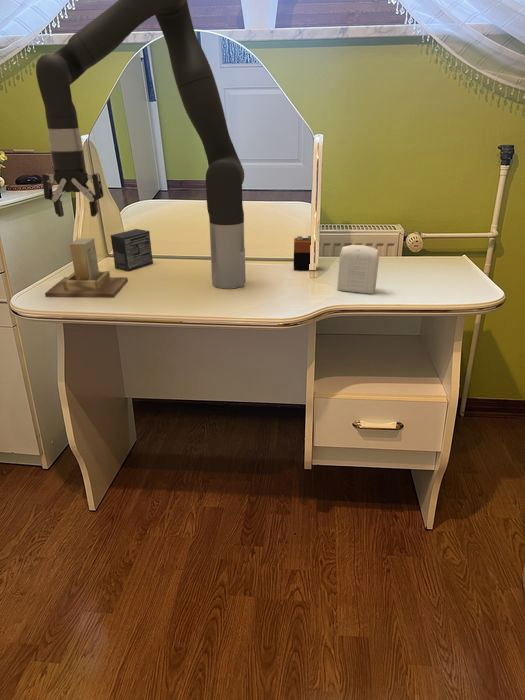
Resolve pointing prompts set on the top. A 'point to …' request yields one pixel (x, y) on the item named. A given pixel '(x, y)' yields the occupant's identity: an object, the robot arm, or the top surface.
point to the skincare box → (84, 259)
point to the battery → (302, 253)
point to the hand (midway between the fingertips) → (77, 216)
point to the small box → (132, 249)
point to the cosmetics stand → (88, 286)
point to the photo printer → (358, 269)
